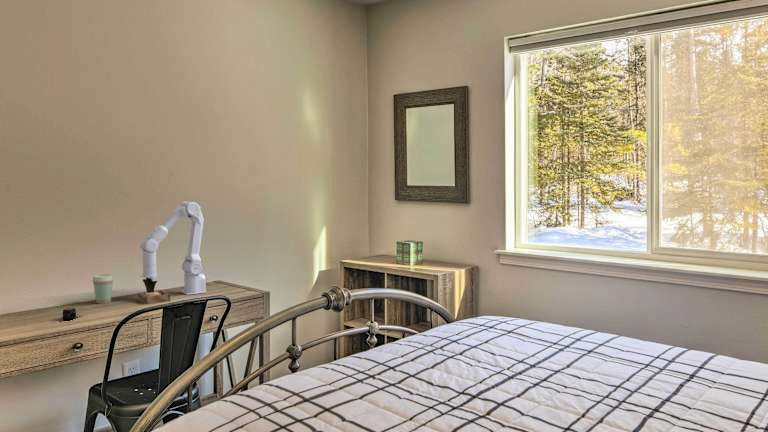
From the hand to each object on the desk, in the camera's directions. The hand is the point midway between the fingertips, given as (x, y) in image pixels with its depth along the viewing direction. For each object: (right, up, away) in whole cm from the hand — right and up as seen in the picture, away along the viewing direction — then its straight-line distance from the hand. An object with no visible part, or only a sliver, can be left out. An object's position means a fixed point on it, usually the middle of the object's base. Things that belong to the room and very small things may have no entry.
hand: (150, 294), depth 274 cm
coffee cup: (-18, -3, -8) cm, 20 cm away
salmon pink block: (+3, -2, -3) cm, 4 cm away
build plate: (-18, -6, -37) cm, 41 cm away
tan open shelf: (+3, -2, -4) cm, 5 cm away
